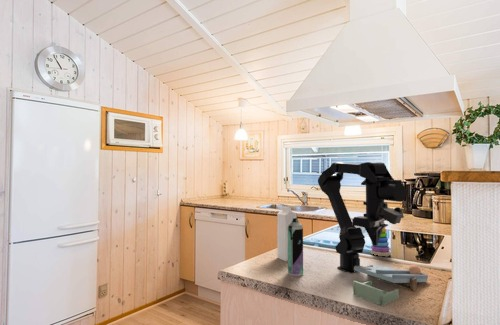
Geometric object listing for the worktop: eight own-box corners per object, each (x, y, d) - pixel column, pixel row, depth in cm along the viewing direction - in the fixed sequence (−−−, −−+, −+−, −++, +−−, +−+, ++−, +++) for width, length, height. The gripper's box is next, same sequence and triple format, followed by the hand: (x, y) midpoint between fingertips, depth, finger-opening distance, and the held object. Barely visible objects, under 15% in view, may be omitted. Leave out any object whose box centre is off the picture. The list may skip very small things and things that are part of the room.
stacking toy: (384, 252, 137) (384, 210, 137) (393, 257, 129) (393, 213, 129) (367, 252, 137) (367, 211, 137) (375, 257, 129) (375, 213, 129)
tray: (353, 294, 90) (353, 281, 90) (370, 288, 95) (370, 275, 95) (381, 305, 82) (381, 291, 82) (398, 298, 87) (398, 284, 87)
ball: (406, 273, 101) (407, 262, 102) (411, 275, 103) (412, 264, 104) (416, 276, 98) (418, 265, 99) (421, 278, 100) (423, 267, 101)
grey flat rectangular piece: (353, 270, 100) (354, 262, 101) (387, 270, 111) (387, 263, 111) (394, 283, 89) (395, 274, 89) (427, 282, 100) (427, 274, 100)
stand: (367, 275, 106) (367, 266, 106) (371, 274, 107) (371, 264, 107) (412, 290, 93) (412, 279, 93) (416, 288, 94) (416, 278, 94)
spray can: (300, 277, 104) (299, 219, 105) (285, 274, 107) (285, 218, 108) (305, 272, 109) (304, 217, 110) (291, 270, 112) (290, 216, 113)
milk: (285, 261, 123) (284, 207, 123) (277, 257, 128) (276, 206, 129) (297, 259, 126) (296, 206, 126) (288, 255, 131) (288, 205, 132)
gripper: (383, 202, 90) (384, 255, 89) (412, 199, 101) (412, 245, 101) (350, 200, 99) (351, 247, 98) (380, 196, 110) (380, 239, 110)
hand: (375, 245), depth 101 cm, fingers closed
